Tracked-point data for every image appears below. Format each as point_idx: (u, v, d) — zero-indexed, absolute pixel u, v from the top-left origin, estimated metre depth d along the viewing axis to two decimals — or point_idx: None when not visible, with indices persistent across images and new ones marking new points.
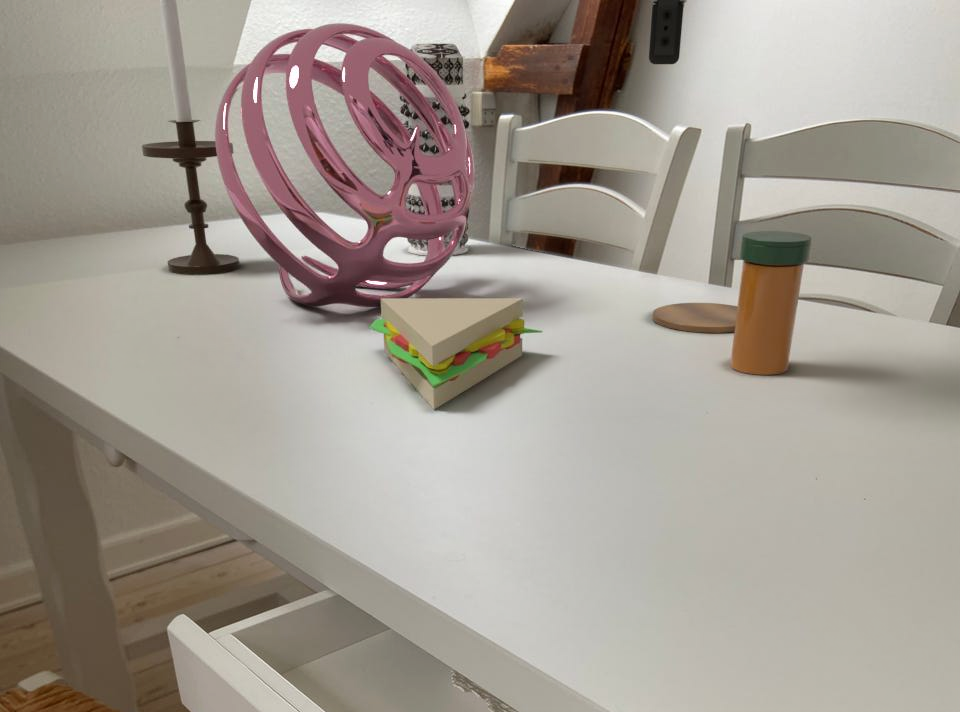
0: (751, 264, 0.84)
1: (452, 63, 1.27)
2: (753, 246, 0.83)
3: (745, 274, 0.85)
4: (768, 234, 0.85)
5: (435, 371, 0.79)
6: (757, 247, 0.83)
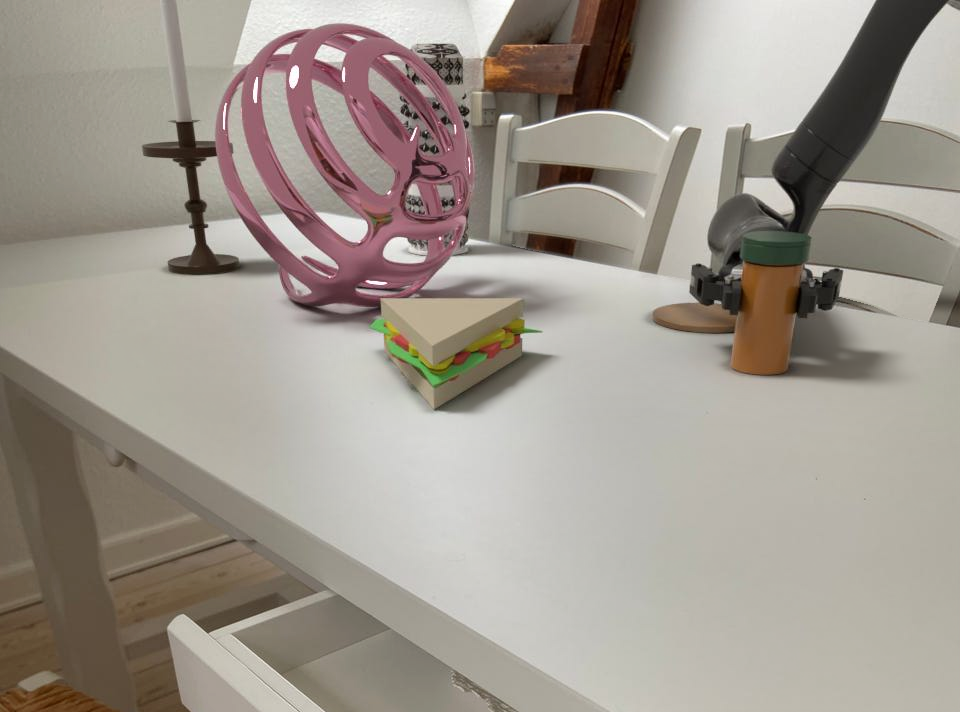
0: (751, 264, 0.84)
1: (452, 63, 1.27)
2: (753, 246, 0.83)
3: (745, 274, 0.85)
4: (768, 234, 0.85)
5: (435, 371, 0.79)
6: (757, 247, 0.83)
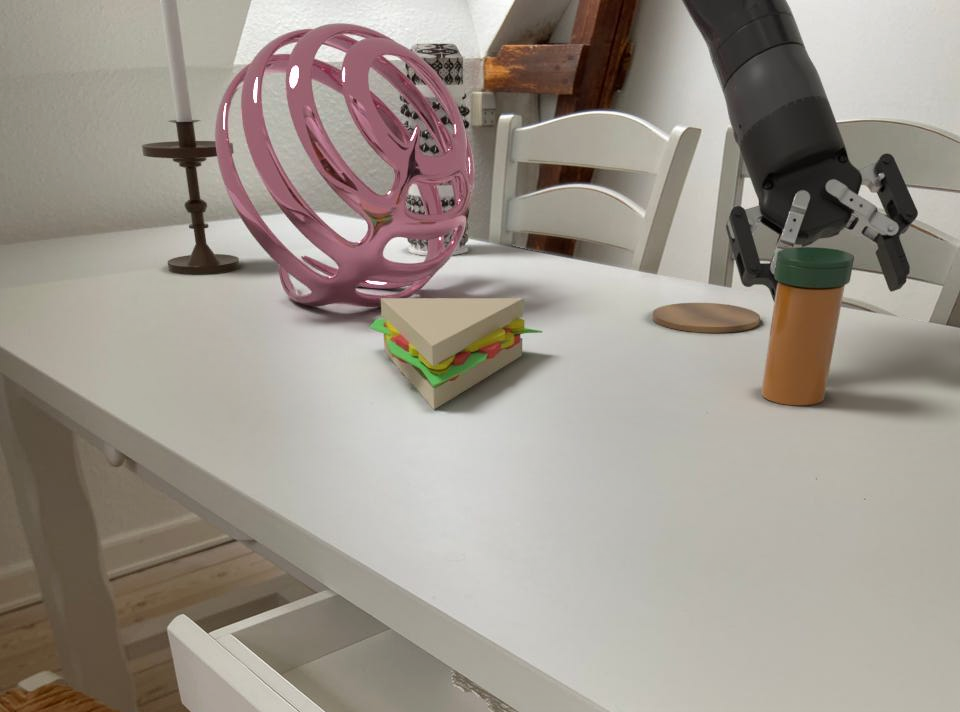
0: (787, 286, 0.76)
1: (452, 63, 1.27)
2: (789, 267, 0.75)
3: (780, 296, 0.77)
4: (805, 252, 0.77)
5: (435, 371, 0.79)
6: (794, 268, 0.75)
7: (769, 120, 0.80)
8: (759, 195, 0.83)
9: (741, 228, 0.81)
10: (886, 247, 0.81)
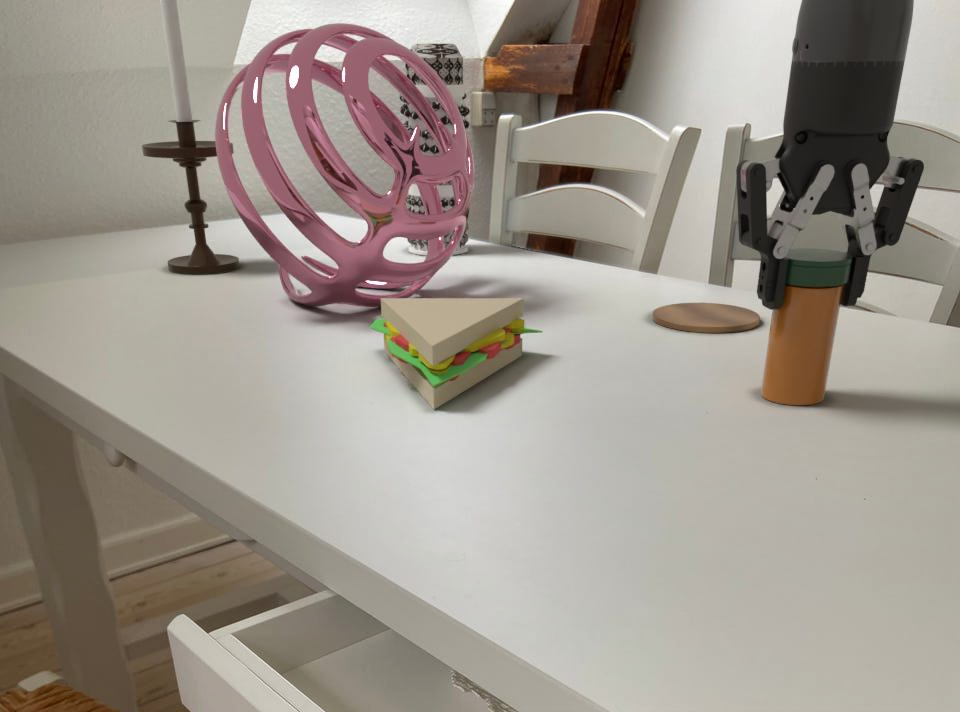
0: (786, 285, 0.77)
1: (452, 63, 1.27)
2: (788, 266, 0.75)
3: None
4: (804, 252, 0.77)
5: (435, 371, 0.79)
6: (793, 267, 0.75)
7: (840, 70, 0.67)
8: (786, 139, 0.71)
9: (757, 192, 0.72)
10: (855, 265, 0.76)
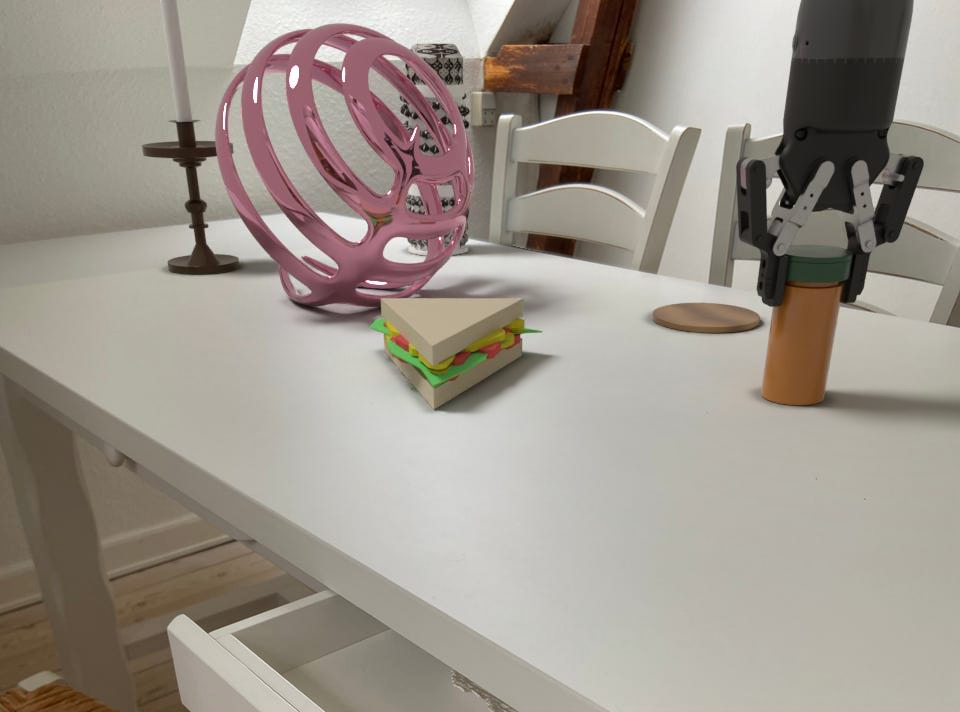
0: (786, 285, 0.77)
1: (452, 63, 1.27)
2: (844, 263, 0.75)
3: None
4: (804, 252, 0.76)
5: (435, 371, 0.79)
6: (847, 263, 0.75)
7: (840, 67, 0.67)
8: (786, 135, 0.71)
9: (757, 189, 0.72)
10: (854, 262, 0.76)
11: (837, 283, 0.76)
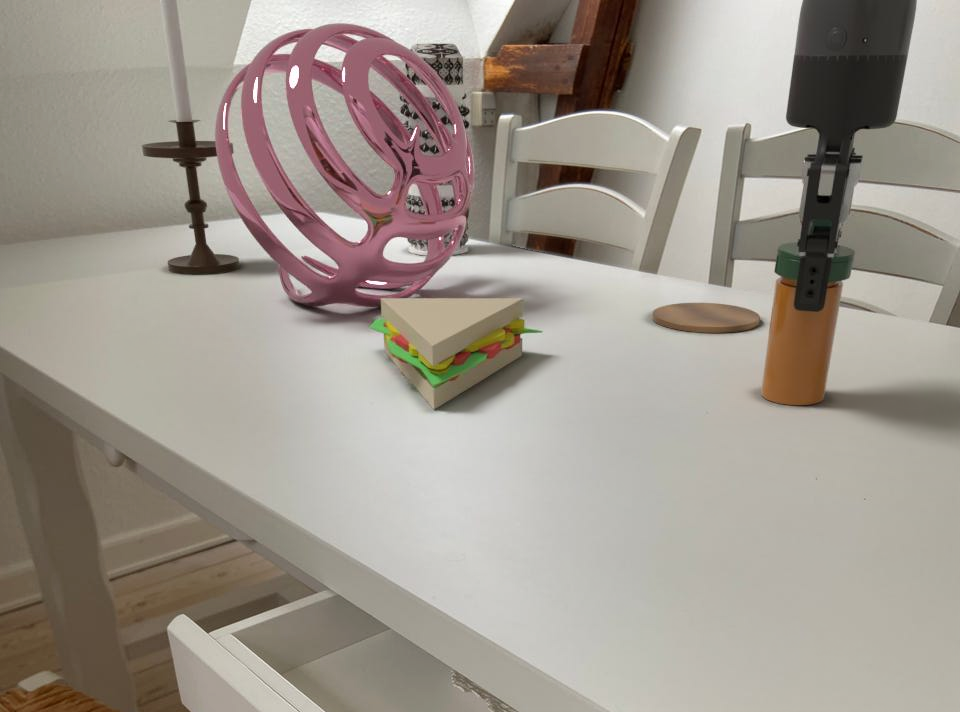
0: (785, 286, 0.76)
1: (452, 63, 1.27)
2: None
3: (778, 296, 0.77)
4: None
5: (435, 371, 0.79)
6: None
7: (896, 64, 0.67)
8: (835, 136, 0.69)
9: (843, 194, 0.68)
10: None
11: (836, 283, 0.76)
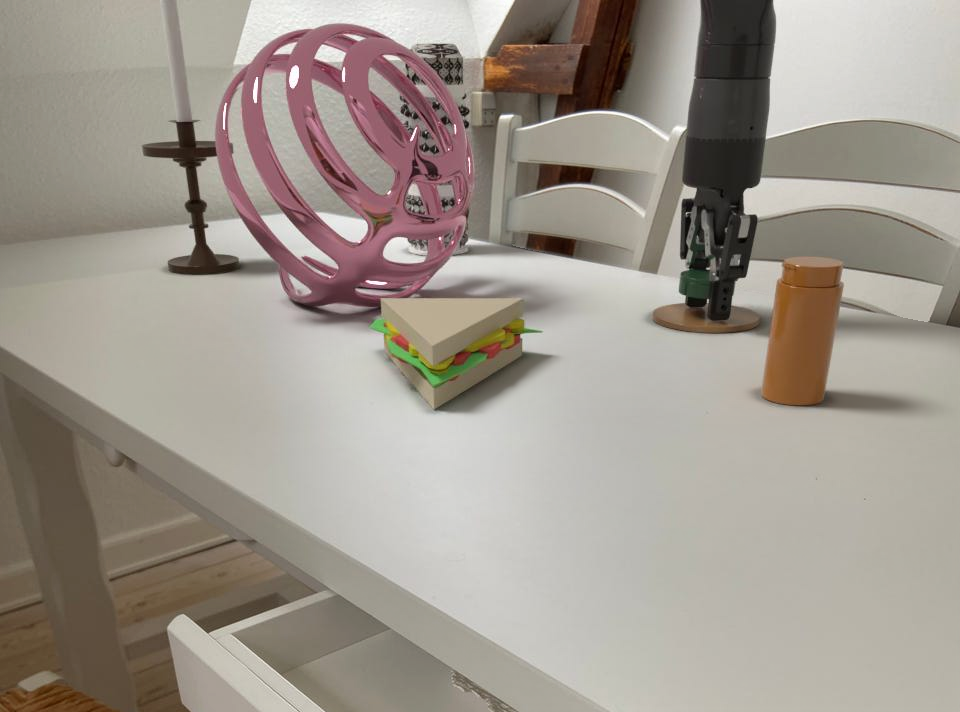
0: (786, 285, 0.77)
1: (452, 63, 1.27)
2: None
3: (779, 296, 0.77)
4: None
5: (435, 371, 0.79)
6: None
7: (764, 143, 0.95)
8: (735, 195, 0.95)
9: None
10: None
11: (837, 283, 0.76)
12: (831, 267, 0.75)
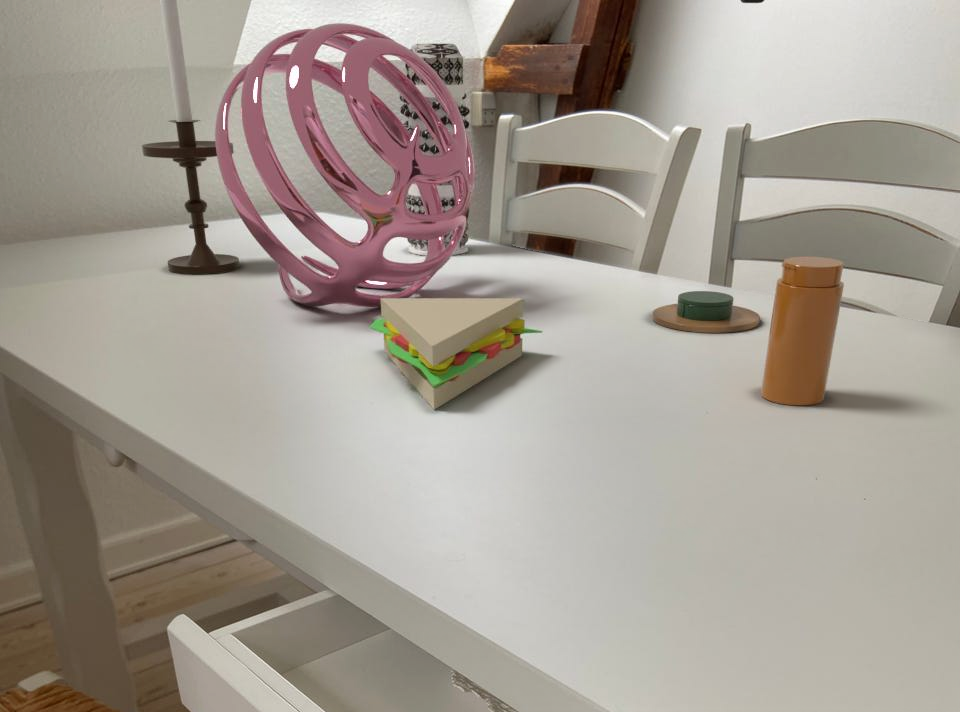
0: (786, 285, 0.77)
1: (452, 63, 1.27)
2: None
3: (779, 296, 0.77)
4: (712, 298, 1.03)
5: (435, 371, 0.79)
6: None
7: None
8: None
9: None
10: None
11: (837, 283, 0.76)
12: (831, 267, 0.75)
